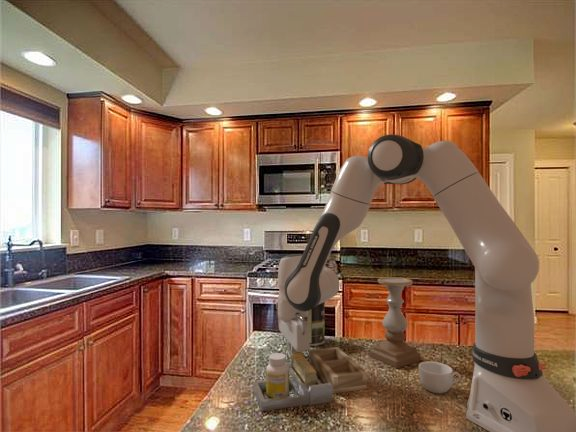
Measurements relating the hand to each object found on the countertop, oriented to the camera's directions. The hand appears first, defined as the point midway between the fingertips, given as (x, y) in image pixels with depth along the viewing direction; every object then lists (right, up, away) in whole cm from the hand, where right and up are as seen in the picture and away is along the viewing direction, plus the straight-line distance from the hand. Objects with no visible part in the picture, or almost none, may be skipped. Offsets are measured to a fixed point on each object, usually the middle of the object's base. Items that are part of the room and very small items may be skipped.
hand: (293, 356), depth 104 cm
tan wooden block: (+3, -2, -10) cm, 10 cm away
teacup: (+36, -2, -16) cm, 40 cm away
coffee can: (+6, -2, +18) cm, 20 cm away
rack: (+11, -2, -8) cm, 14 cm away
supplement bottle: (-4, -2, -20) cm, 20 cm away
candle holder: (+31, -2, +4) cm, 31 cm away
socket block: (-2, -2, -14) cm, 15 cm away
